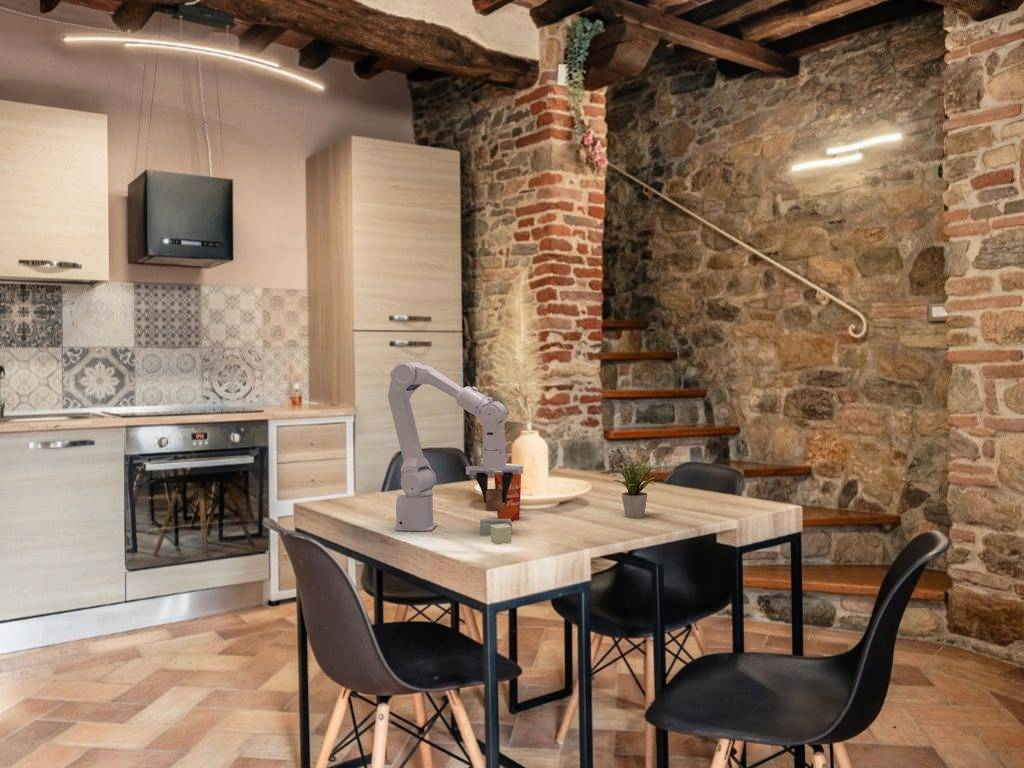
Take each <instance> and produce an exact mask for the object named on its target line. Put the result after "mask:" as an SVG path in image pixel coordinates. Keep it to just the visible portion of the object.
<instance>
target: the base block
mask: <svg viewBox="0 0 1024 768" xmlns="http://www.w3.org/2000/svg"><path fill="white" fill-rule="evenodd" d="M497 524H507V525H509V526H511V536H513V527H512V525H513V523H512V521H511V519H498V518H491V519H490V518H489V519H488V518H487V519H486V518H485V519H479V536H480V537H488V536H489V537H491V525H497Z"/></svg>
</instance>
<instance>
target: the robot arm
mask: <svg viewBox="0 0 1024 768" xmlns="http://www.w3.org/2000/svg"><path fill="white" fill-rule="evenodd" d="M389 376H390V382H389V389H388V394H387V398H388V399H387V400H388V403H389V404H388V405H389V407H390V411H391V415H392V421H393V423H394V429H395V432H396V435H397V440H398V444H399V447H400V452H401V453H400V454H401V457H402V461H403V462H402V465H401V467H400V474H401V479H400V487H401V490H402V491H403V492H404V493H405V494H399V495H398V496H397V498H396V501H395V502H396V504H395V518H396V520H395V521H396V522H395V523H396V526H395V527H396V528H395V531H409V532H410V531H411V532H412V531H413V532H414V531H417V532H418V531H423V532H425V531H426V532H427V531H428V532H430V531H433V529H435V528H436V527H437V526H438V522H434V504H433V503H434V502H433V500H434V498H433V495H434V494H433V488H434V487H435V486H436V483H437V476H436V473H435V471H434V470H433V469H432V468H431V465H430V462H429V461H428V459H426V457H425V456H424V454H423V449H422V445H421V440H420V437H419V433H418V429H417V425H416V421H415V416H414V413H413V408H412V405H411V400H410V399H411V398H412V396H413V394H414V393H415V392H416V390H417V389H418V388H420V387H421V386H422V385H429V386H432V387H434V388H436V389H437V390H440V391H442V392H443V393H445V394H446V395H449V396H451V397H452V398H454V399H455V400H456V401H455V402H456V405H457V406H458V407H460V408H461V409H463V410H465V411H466V412H468V413H470V414H472V415H473V416H475V417H477V418H478V420H479V421H480V423H481V424H482V464H483V465H467V466H465V475H475V480H476V481H477V483H478V485H479V488H480V490H481V494H482V496H483V502H484V503H485V504H486V491H487V490H488V489H489V483H488V482H489V475H494V474H503V475H502V489H503V492H502V503H506V498H507V493H508V489H509V486H510V483H511V480H512V478H513V476H514V474H521V475H523V474H524V466H523V465H520V466H509V465H506V464H507V461H506V431H505V430H506V429H505V424H506V423H505V421H506V419H507V417H508V409H507V407H506V405H504V404H503V403H502V402H501V401H497V400H495V401H493V399H494V398H493V397H492V396H486V395H484V394H483V393H481V392H479V391H478V390H479V389H478V387H476V386H472V387H471V386H470V385H469V386H465V387H462V386H460V385H459V384H457V383H456V382H455V381H454V380H452V379H450V378H449V377H447V376H446V375H444V374H443V373H441V372H439V370H436V369H435V368H433V367H432V366H430V365H428V364H427V365H426V364H425V363H424V362H422V361H419V360H418V361H413V362H412V361H409V362H407V361H400V362H398V363H397V364H396V365H395V366H394V367H393V369H392V370H391V372H390V373H389ZM494 471H502V472H494Z"/></svg>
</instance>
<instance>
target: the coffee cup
mask: <svg viewBox="0 0 1024 768" xmlns="http://www.w3.org/2000/svg"><path fill="white" fill-rule="evenodd" d="M506 465H509V466H521V464H519V463H506ZM493 472H502V471H493ZM502 475H503V474H493V476H494V477H493V479H494V489H502ZM521 486H522V474H514V476H513V478H512V480H511V483H510V486H509V489H508V493H507V498H506V503H504V509H503V510H502V511H496V515H497V519H511V522H515V521H514V520H516V521H518V519H519V520H520V514H521V513H520V512H521V491H522V490H521V489H522V487H521Z"/></svg>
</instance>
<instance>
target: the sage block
mask: <svg viewBox="0 0 1024 768" xmlns="http://www.w3.org/2000/svg"><path fill="white" fill-rule="evenodd" d="M490 542H492V543H493V544H494V545H503V544H502V543H506V544H511V543H512V535H511V526H509V525H507V524H497V525H491V536H490ZM510 542H511V543H510Z"/></svg>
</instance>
